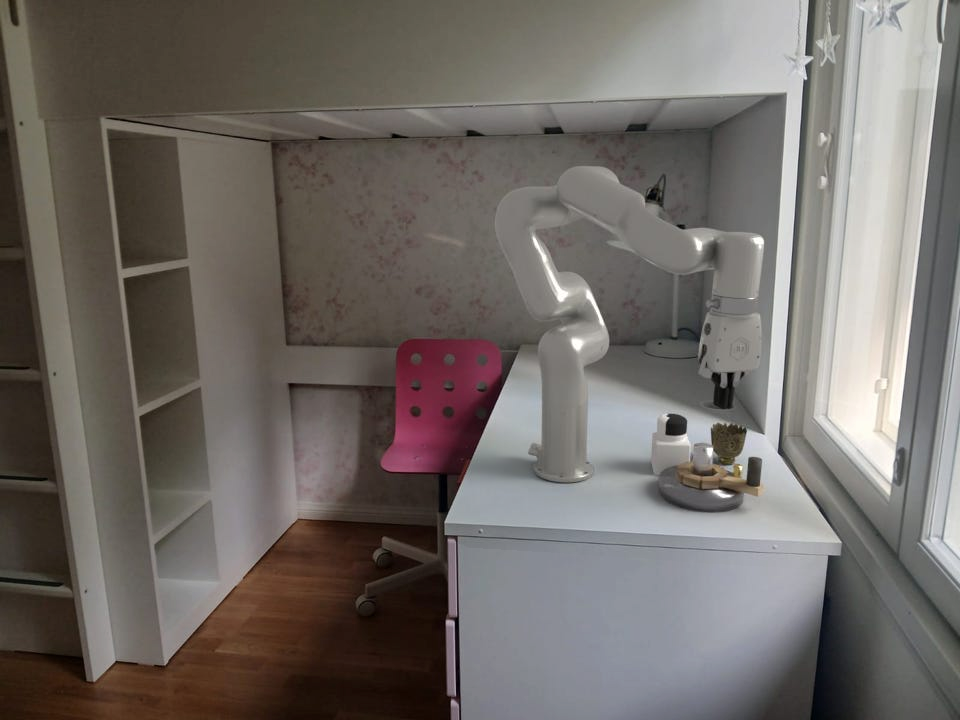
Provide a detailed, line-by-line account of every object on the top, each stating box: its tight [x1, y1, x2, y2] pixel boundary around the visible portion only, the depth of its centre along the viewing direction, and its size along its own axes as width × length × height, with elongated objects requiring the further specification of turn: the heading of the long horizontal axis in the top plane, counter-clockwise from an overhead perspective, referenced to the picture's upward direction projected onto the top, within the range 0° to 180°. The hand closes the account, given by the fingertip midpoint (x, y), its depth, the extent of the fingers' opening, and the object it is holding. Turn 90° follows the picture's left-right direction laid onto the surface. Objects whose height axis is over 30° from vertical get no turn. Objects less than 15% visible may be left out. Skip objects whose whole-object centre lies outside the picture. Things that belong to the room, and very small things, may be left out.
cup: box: [710, 422, 748, 466], centre depth 157 cm, size 8×7×8 cm
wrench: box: [675, 456, 764, 498], centre depth 138 cm, size 16×10×7 cm, turn 49°
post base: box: [658, 442, 745, 513], centre depth 141 cm, size 16×16×10 cm
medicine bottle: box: [650, 413, 692, 476], centre depth 153 cm, size 7×7×12 cm
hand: (722, 406), depth 129 cm, fingers closed
